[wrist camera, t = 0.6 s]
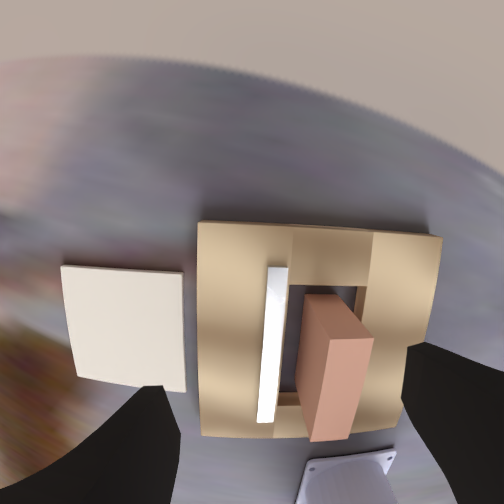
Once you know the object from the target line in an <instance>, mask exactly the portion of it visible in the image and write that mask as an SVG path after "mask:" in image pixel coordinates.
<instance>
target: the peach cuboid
mask: <svg viewBox="0 0 504 504" xmlns="http://www.w3.org/2000/svg"><path fill="white" fill-rule="evenodd" d="M373 342H374V337H373V336H372V335H371V334H370V332H369V331H368V330H367V329H366V328H365V327H364V325H363V324H362V323H361V322H360V321H359V319H358V318H357V317H356V316H355V315H354V313H353V312H352V311H351V310H350V309H349V308H348V306H347V305H346V304H345V303H344V302H343V301H342V299H341V298H340V297H339V296H338V295H337V294H305V295H304V305H303V314H302V323H301V332H300V341H299V349H298V357H297V364H296V372H295V379H294V380H295V384H296V388H297V392H298V396H299V400H300V404H301V408H302V412H303V416H304V420H305V424H306V428H307V432H308V436H309V440H310V442H318V441H331V440H341V439H348V436H349V433H350V430H351V427H352V423H353V420H354V417H355V413H356V410H357V406H358V403H359V399H360V396H361V392H362V388H363V384H364V380H365V376H366V372H367V368H368V364H369V360H370V355H371V351H372V346H373Z"/></svg>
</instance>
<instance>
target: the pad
mask: <svg viewBox="0 0 504 504" xmlns="http://www.w3.org/2000/svg"><path fill="white" fill-rule="evenodd" d="M61 278H62V287H63V296H64V304H65V311H66V318H67V324H68V330H69V336H70V342H71V347H72V352H73V357H74V362H75V366H76V371H77V375H78V376H79V377H84V378H89V379H94V380H99V381H104V382H110V383H116V384H122V385H128V386H135V387H141V388H142V387H143V386H156V385H163V387H164V390H165V391H174V392H184V393H186V390H187V379H186V360H185V336H184V292H183V272H169V271H152V270H136V269H120V268H105V267H91V266H77V265H62V266H61Z"/></svg>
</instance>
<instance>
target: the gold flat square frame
mask: <svg viewBox="0 0 504 504" xmlns="http://www.w3.org/2000/svg"><path fill="white" fill-rule="evenodd" d="M442 242H443V237H439V236H436V235H432V234H424V233H413V232H401V231H388V230H375V229H361V228H347V227H332V226H316V225H300V224H282V223H262V222H241V221H217V220H201V221H200V222H198V239H197V349H198V382H199V406H200V425H201V436H212V437H230V438H300V437H309V436H308V432H307V428H306V424H305V420H304V416H303V412H302V408H301V404H300V400H299V396H298V392H279V384H280V375H281V366H282V357H283V347H284V337H285V327H286V317H287V306H288V294H289V284H291V285H327V286H357V292H356V299H355V306H354V312H353V313H354V315H355V316H356V317H357V318H358V319H359V321H360V322H361V323H362V324H363V325H364V327H365V328H366V329H367V330H368V331H369V332H370V334H371V335H372V336H373V337H374V342H373V346H372V351H371V355H370V360H369V364H368V368H367V372H366V376H365V380H364V384H363V388H362V392H361V396H360V399H359V403H358V406H357V410H356V413H355V417H354V420H353V423H352V427H351V430H350V433H359V432H366V431H374V430H380V429H387V428H392V427H396V425H397V422H398V420H399V417H400V414H401V412H402V409H403V406H404V405H403V403H402V400H401V392H402V385H403V378H404V371H405V363H406V355H407V347H408V346H412V345H415V344H419V343H422V342H424V338H425V334H426V330H427V326H428V321H429V317H430V312H431V308H432V303H433V298H434V293H435V288H436V282H437V276H438V270H439V264H440V257H441V250H442ZM350 433H349V434H350Z"/></svg>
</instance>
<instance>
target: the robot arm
mask: <svg viewBox="0 0 504 504" xmlns="http://www.w3.org/2000/svg"><path fill="white" fill-rule="evenodd" d="M401 400H402V403H403V405H404V407H405V409H406V412H407V414H408V416H409V418H410V420H411V422H412V424H413V426H414V427H415V429H416V430H417V432H418V434H419V435H420V437H421V438H422V440H423V441H424V443H425V444H426V446H427V448H428V449H429V451H430V452H431V454H432V455H433V457H434V458H435V460H436V462H437V463H438V465H439V466H440V468H441V469H442V471H443V473H444V475H445V477H446V478H447V480H448V482H449V485H450V487H451V489H452V492H453V494H454V496H455V499H456V501H457V503H458V504H504V372H503V371H500V370H496V369H494V368H491V367H488V366H485V365H483V364H480V363H477V362H475V361H472V360H470V359H467V358H465V357H462V356H460V355H458V354H455V353H453V352H450V351H448V350H445V349H443V348H440V347H438V346H435V345H432V344H429V343H426V342H422V343H419V344H415V345H412V346H408V347H407V355H406V363H405V371H404V378H403V385H402V392H401ZM180 439H181V433H180V430H179V428H178V425H177V423H176V420H175V417H174V415H173V412H172V409H171V407H170V404H169V401H168V398H167V396H166V393H165V390H164V387H163V385H156V386H143V387H142V388H141V389H139V390H138V391H137V392H136V393H135V394H134V395H133V396H132V397H131V398H130V399H129V400H128V401H127V402H126V403H125V404H124V405H123V406H122V407H121V408H120V409H119V410H117V411H116V412H115V413H114V414H113V415H112V416H111V417H110V418H109V419H108V420H107V421H106V422H105V423H104V424H103V425H102V426H100V427H99V428H98V429H97V430H96V431H95V432H93V433H92V434H91V435H90V436H89V437H87V438H86V439H85V440H84V441H83V442H81V443H80V444H79V445H78V446H77V447H75V448H74V449H73V450H71V451H70V452H69V453H67V454H66V455H64V456H63V457H62V458H60V459H59V460H57V461H55V462H54V463H52V464H51V465H49V466H48V467H46V468H44V469H43V470H41V471H39V472H37V473H35V474H33V475H31V476H29V477H27V478H25V479H23V480H21V481H19V482H17V483H15V484H12V485H10V486H7V487H5V488H2V489H0V504H170V502H171V497H172V492H173V488H174V483H175V478H176V474H177V469H178V464H179V454H180ZM396 453H397V452H396V450H395V449H394V448H392V449H387V450H381V451H375V452H369V453H363V454H356V455H348V456H340V457H331V458H320V459H311V460H309V461H308V462H307V463H306V467H305V471H304V475H303V478H302V482H301V486H300V489H299V493H298V496H297V499H296V503H295V504H398V502H397V499H396V497H395V495H394V493H393V491H392V488H391V486H390V484H389V482H388V480H387V477H386V474H387V472H388V470H389V468H390V466H391V464H392V462H393V459H394V457H395V455H396Z"/></svg>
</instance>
